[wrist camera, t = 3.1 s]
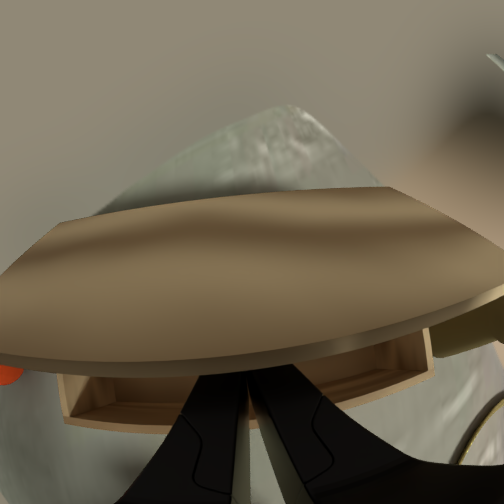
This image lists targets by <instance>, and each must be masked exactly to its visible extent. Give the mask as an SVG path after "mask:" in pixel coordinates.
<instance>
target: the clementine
mask: <svg viewBox="0 0 504 504" xmlns="http://www.w3.org/2000/svg"><path fill="white" fill-rule="evenodd" d="M23 370H24V369H21V368H16V367H10V366H5V365H0V385H7V384H11V383H13V382H14V381H16V380H17V379H18V378H19V377H20V376H21V374H22V373H23Z"/></svg>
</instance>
